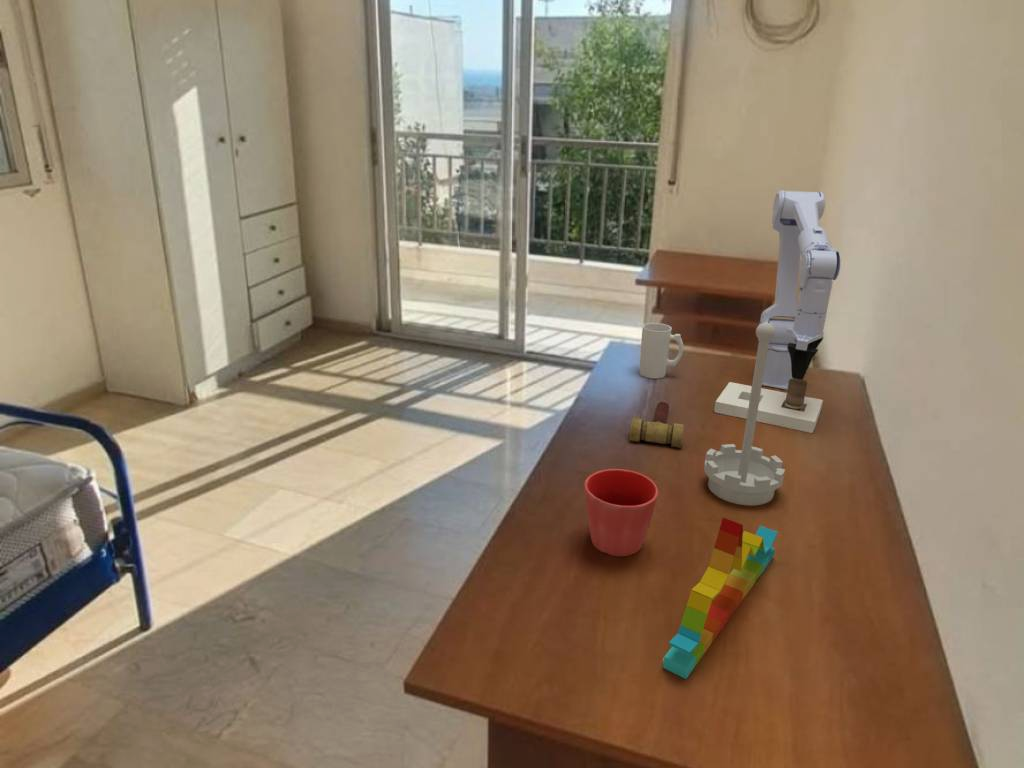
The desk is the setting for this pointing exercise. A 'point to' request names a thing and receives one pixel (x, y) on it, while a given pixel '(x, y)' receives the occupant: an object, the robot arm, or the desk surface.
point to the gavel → (657, 429)
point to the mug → (657, 350)
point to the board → (769, 407)
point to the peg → (795, 394)
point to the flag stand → (747, 450)
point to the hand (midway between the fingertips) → (800, 373)
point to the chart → (719, 592)
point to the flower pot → (619, 510)
